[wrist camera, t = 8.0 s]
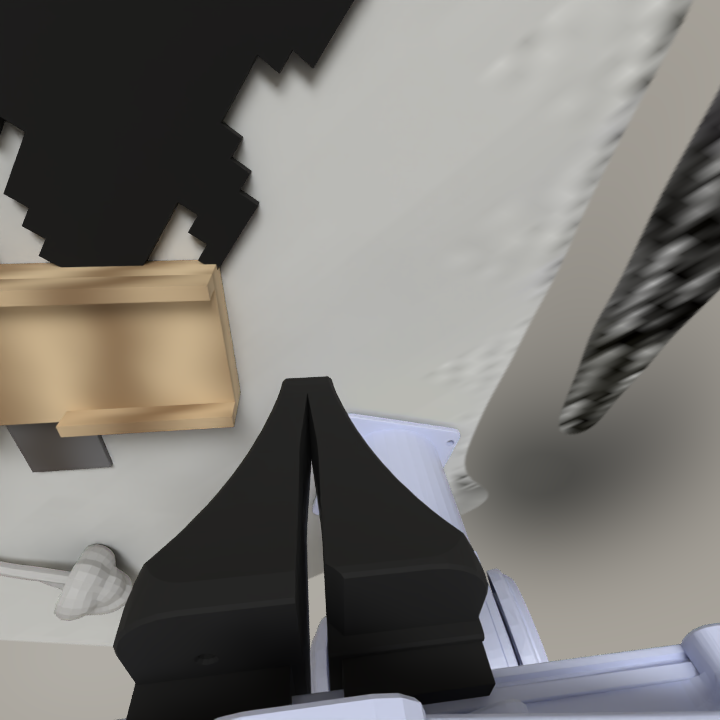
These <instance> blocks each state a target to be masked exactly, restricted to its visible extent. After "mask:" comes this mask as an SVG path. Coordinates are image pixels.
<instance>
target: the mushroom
mask: <svg viewBox="0 0 720 720" xmlns="http://www.w3.org/2000/svg"><path fill="white" fill-rule="evenodd" d="M0 576H6V577H12V578H18V579H25V580H34V581H40V582H42V583H45V584H47V585H50V586H52V587H55V588H58V589H61V590H62V592H61V594H60V596H59V599H58V601H57V604H56V607H55V610H54V614H55V615H56V616H57V617H58V618H60V619H61V620H66V621H71V620H75V619H79V618H81V617H83V616H85V615H103V614H108V613H111V612H114V611H116V610H118V609H120V608H121V607H122V606H124V605H125V604H126V602H127V599H128V597H129V595H130V592H131V590H132V588H133V587H132V582H131V579H130V577H129V576H128V575H127V574H126V573H124V572H123V571H122V570H120V569H118V568H117V567H116V562H115V555H114V553H113V552H112V550H110V549H109V548H108V547H106V546H103V545H99V544H95V545H90V546H88V547H87V548H86V549H85V551H84V552H83V553H82V555H81V557H80V558H79V560H78V561H77V562H76V564H75V565H74V567H73V569H72V571H71V572H70V571H63V570H57V569H50V568H43V567H36V566H27V565H19V564H13V563H7V562H1V561H0Z"/></svg>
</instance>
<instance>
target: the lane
mask: <svg viewBox="0 0 720 720" xmlns="http://www.w3.org/2000/svg"><path fill="white" fill-rule="evenodd" d="M239 397H240V386H239V380H238V374H237V368H236V362H235V356H234V350H233V344H232V338H231V332H230V326H229V321H228V315H227V309H226V303H225V297H224V291H223V285H222V279H221V273H220V267H219V269H218V270H217V266H216V264H206V265H205V264H203V263H201V262H199V261H198V260H176V261H146V263H145V264H144V265H143V266H110V267H62V268H61V267H59V266H57V265H56V264H54V263H29V264H0V425H6V427H7V428H8V430H9V432H10V434H11V435H12V437H13V439H14V441H15V442H16V444H17V446H18V447H19V449H20V451H21V453H22V454H23V456H24V458H25V459H26V461H27V463H28V465H29V466H30V468H31V470H32V472H44V471H59V470H74V469H89V468H103V467H111V465H112V461H111V459H110V456H109V454H108V452H107V449H106V447H105V445H104V442H103V440H102V437H101V435H108V434H124V433H141V432H157V431H174V430H190V429H207V428H224V427H234V423H235V418H236V413H237V407H238V402H239Z"/></svg>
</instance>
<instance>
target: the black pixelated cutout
mask: <svg viewBox="0 0 720 720" xmlns="http://www.w3.org/2000/svg"><path fill="white" fill-rule="evenodd" d="M353 1H354V0H0V134H1V131H2V128H3V125H4V122H5V120H7V121H8V122H10V123H11V124H13V125H15V126H16V127H18V128H20V129H21V130H23V131H24V132H25V134H24V137H23V140H22V143H21V146H20V148H19V151H18V154H17V157H16V160H15V163H14V165H13V168H12V171H11V174H10V177H9V180H8V182H7V185H6V188H5V191H4V194H5V195H7V196H8V197H10V198H12V199H14V200H16V201H17V202H19V203H21V204H23V205H25V206H26V207H28V208H29V209H28V211H27V214H26V217H25V219H24V222H23V224H22V226H23V227H24V228H26V229H28V230H30V231H32V232H34V233H36V234H38V235H39V236H41V237H43V238H45V239H46V240H45V242H44V244H43V247H42V249H41V252H40V254H39V256H40V257H42V258H44V259H46V260H48V261H50V262H52V263H54V264H56V265H57V266H59V267H61V268H62V267H110V266H143V265H144V264H145V263H146V261H147V260H148V258H149V256H150V254H151V252H152V251H153V249H154V247H155V245H156V243H157V241H158V240H159V238H160V236H161V234H162V232H163V230H164V228H165V227H166V225H167V223H168V221H169V219H170V217H171V216H172V214H173V212H174V210H175V208H176V206H177V204H178V203H180V204H181V205H183V206H184V207H186V208H187V209H189V210H191V211H192V212H194V213H195V214H197V215H198V216H197V218H196V219H195V221H194V223H193V225H192V226H191V228H190V230H189V232H188V233H190V234H191V235H193V236H195V237H196V238H198V239H199V240H201V241H203V242H204V243H206V244H207V246H206V248H205V249H204V251H203V253H202V254H201V256H200V258H199V260H198V261H199V262H201V263H203V264H205V265H206V264H216V266H217V270H218V269H219V267H220V266H221V264H222V262H223V261H224V259H225V258H226V256H227V254H228V253H229V251H230V250H231V248H232V246H233V245H234V243H235V242H236V240H237V238H238V237H239V235H240V234H241V232H242V231H243V229H244V227H245V226H246V224H247V223H248V221H249V219H250V218H251V216H252V215H253V213H254V211H255V210H256V208H257V207H258V204H259V202H258V201H257V200H256V199H254V198H253V197H251V196H250V195H248V194H247V193H245V192H244V191H243V190H241V188H242V186H243V185H244V183H245V181H246V180H247V178H248V176H249V175H250V173H251V170H250V169H248V168H247V167H246V166H244V165H243V164H241V163H240V162H239V161H237V160H236V159H235V158H233V157H232V156H233V154H234V152H235V150H236V149H237V147H238V145H239V143H240V142H241V140H242V138H243V137H242V136H241V135H240V134H239V133H237V132H236V131H235V130H233V129H232V128H231V127H229V126H228V125H227V124H225V123H224V122H223V120H224V118H225V116H226V114H227V112H228V110H229V109H230V107H231V105H232V103H233V101H234V99H235V98H236V96H237V94H238V92H239V90H240V88H241V86H242V85H243V83H244V81H245V79H246V77H247V75H248V74H249V72H250V70H251V68H252V66H253V64H254V63H255V61H256V59H257V57H258V56H259V57H261V58H262V59H263V60H264V61H265V62H266V63H268V64H269V65H270V66H271V67H272V68H273V69H275V70H276V71H277V72H278V73H280V72H281V70H282V68H283V66H284V65H285V63H286V61H287V59H288V58H289V56H290V54H291V52H292V51H295V52H296V53H297V54H298V55H299V56H300V57H301V58H302V59H303V60H305V61H306V62H307V63H308V64H309V65H310V66H311V67H312V68H314V66H315V65H316V63H317V61H318V60H319V58H320V56H321V55H322V53H323V51H324V50H325V48H326V46H327V45H328V43H329V41H330V40H331V38H332V36H333V35H334V33H335V31H336V30H337V28H338V26H339V25H340V23H341V21H342V20H343V18H344V16H345V15H346V13H347V11H348V10H349V8H350V6H351V5H352V3H353Z"/></svg>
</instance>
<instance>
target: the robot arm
mask: <svg viewBox="0 0 720 720" xmlns="http://www.w3.org/2000/svg"><path fill="white" fill-rule="evenodd" d="M459 439H460V433H459V431H458V430H457V429H455V428H448V427H441V426H434V425H427V424H421V423H414V422H407V421H400V420H393V419H387V418H380V417H373V416H366V415H359V414H347V412H346V411H345V409H344V407H343V405H342V403H341V401H340V399H339V397H338V395H337V393H336V391H335V388H334V386H333V383H332V379H331V378H329V377H328V376H326V377H308V378H289V379H285V380H284V381H283V382H282V386H281V390H280V393H279V395H278V398H277V400H276V403H275V405H274V407H273V409H272V411H271V413H270V415H269V417H268V419H267V421H266V423H265V425H264V427H263V429H262V431H261V433H260V434H259V436H258V438H257V439H256V441H255V443H254V444H253V446H252V448H251V449H250V451H249V452H248V454H247V455H246V457H245V458H244V460H243V461H242V463H241V464H240V465H239V467H238V468H237V469H236V471H235V472H234V474H233V475H232V476H231V477H230V479H229V480H228V481H227V482H226V484H225V485H224V486H223V487H222V488H221V490H220V491H219V492H218V493H217V495H216V496H215V497H214V498H213V499H212V500H211V501H210V502H209V504H208V505H207V506H206V507H205V508H204V509H203V510H202V511H201V512H200V513H199V514H198V515H197V516H196V517H195V518H194V519H193V520H192V521H191V522H190V523H189V524H188V525H187V526H186V527H185V528H184V529H183V530H182V531H181V532H180V533H179V534H178V535H177V536H176V537H175V538H173V539H172V540H171V541H170V542H169V543H168V544H167V545H166V546H164V547H163V548H162V549H161V550H160V551H159V552H158V553H156V554H155V555H154V556H153V557H152V558H151V559H150V560H148V561H147V562H146V563H145V564H144V565H143V567H142V569H141V571H140V573H139V575H138V577H137V579H136V581H135V583H134V586H133V588H132V590H131V592H130V595H129V597H128V599H127V602H126V604H125V607H124V610H123V614H122V617H121V620H120V624H119V627H118V631H117V634H116V637H115V641H114V645H113V648H114V650H115V653H116V655H117V657H118V658H119V660H120V661H121V663H122V664H123V666H124V667H125V669H126V670H127V671H128V673H129V674H130V676H131V677H132V678H133V680H134V681H135V688H134V691H133V695H132V699H131V703H130V707H129V711H128V715H127V718H125V719H118V720H720V623H714V624H708V625H704V626H701V627H698V628H696V629H694V630H692V631H691V632H690V633H688V634H687V635H686V636H685V638H684V639H683V640H682V643H681V644H677V645H670V646H662V647H655V648H648V649H640V650H633V651H625V652H618V653H610V654H603V655H595V656H588V657H581V658H573V659H566V660H558V661H550V662H549V661H548V658H547V655H546V653H545V650H544V648H543V645H542V642H541V640H540V637H539V635H538V632H537V630H536V627H535V625H534V623H533V620H532V617H531V615H530V613H529V611H528V608H527V606H526V604H525V602H524V599H523V597H522V595H521V593H520V591H519V589H518V587H517V585H516V583H515V582H514V580H513V579H512V578H510V577H509V576H507V575H505V574H502V573H501V571H500V570H499V569H492V570H488V571H487V576H488V580H489V583H490V587H491V589H490V587H489V584H488V582H487V580H486V576H485V573H484V570H483V568H482V566H481V563H480V561H479V558H478V555H477V552H476V551H474V550H473V548H472V546H471V544H470V541H469V539H468V536H467V533H466V530H465V527H464V525H463V522H462V519H461V516H460V513H459V511H458V508H457V505H456V502H455V499H454V497H453V494H452V491H451V488H450V486H449V483H448V480H447V477H446V474H445V472H444V469H443V468H444V466H445V464H446V463H447V461H448V459H449V457H450V455H451V453H452V452H453V450H454V448H455V446H456V444H457V442H458V441H459ZM450 440H451V441H450ZM448 441H450V442H448ZM311 460H312V467H313V474H314V481H315V487H316V494H317V495H316V498H315V501H314V503H313V506H312V511H313V513H314V514H316V515H320V522H321V531H322V541H323V560H324V578H325V598H326V616H325V617H324V618H323V619H322V620H321V622H320V624H319V626H318V629H317V632H316V634H315V636H314V638H313V641H312V645H311V649H310V635H309V605H308V604H309V603H308V569H307V521H308V505H309V490H310V474H311ZM491 590H492V592H491ZM492 593H493V594H492Z"/></svg>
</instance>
